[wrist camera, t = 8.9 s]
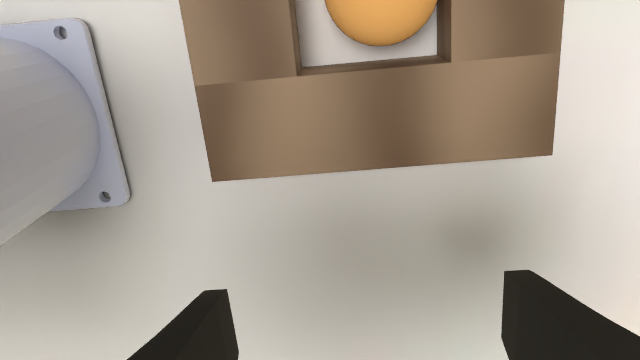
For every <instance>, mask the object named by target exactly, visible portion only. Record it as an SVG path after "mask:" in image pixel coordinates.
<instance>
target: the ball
mask: <svg viewBox="0 0 640 360" xmlns="http://www.w3.org/2000/svg"><path fill="white" fill-rule="evenodd" d="M325 3H326V7H327V9H328V12H329V14H330V16H331V18H332V19H333V21H334V22H335V24H336V25H337V26H338V28H339V29H340V30H341V31H342V32H343V33H345V34H346V35H347V36H348V37H350V38H352V39H353V40H355V41H358V42H360V43H363V44H367V45H371V46H387V45H392V44H396V43H398V42H401V41H403V40H405V39H407V38H409V37H411V36H412V35H413V34H415V33H416V32H417V31H418V30H419V29H420V28H421V27H422V26H423V25H424V24H425V23H426V22H427V20H428V19H429V17H430V16H431V14H432V12H433V10H434V8H435V6H436V3H437V0H325Z"/></svg>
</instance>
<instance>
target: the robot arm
mask: <svg viewBox="0 0 640 360" xmlns="http://www.w3.org/2000/svg"><path fill="white" fill-rule="evenodd" d="M61 26H62V27H63V28H65V30H66V32H67V37H66V38H65V39H64V38H62V37H61V36H60V34H59V29H60V27H61ZM103 192H107V193H108V194H109V195H110V197H111V199H107V198H105V197H104V195H103ZM129 198H130V191H129V187H128V183H127V179H126V175H125V171H124V167H123V163H122V159H121V155H120V151H119V147H118V143H117V139H116V135H115V131H114V127H113V123H112V119H111V115H110V111H109V107H108V103H107V99H106V95H105V91H104V87H103V83H102V79H101V75H100V72H99V68H98V64H97V60H96V56H95V52H94V48H93V44H92V40H91V36H90V32H89V29H88V26H87V25H86V23H85V22H84V21H82V20H80V19H78V18H67V19H57V20H47V21H37V22H28V23H18V24H8V25H0V246H1V245H3V244H4V243H5V242H7V241H8V240H10V239H11V238H12V237H14V236H15V235H16V234H18V233H19V232H21V231H22V230H23V229H25V228H26V227H27V226H29V225H30V224H31V223H33V222H34V221H36V220H37V219H38V218H40V217H41V216H42V215H44V214H45V213H47V212H49V211H62V210H76V209H89V208H102V207H115V206H121V205H123V204H125V203H126V202H127V201H128V200H129ZM501 338H502V341H503V344H504V347H505V350H506V352H507V355H508V358H509V360H640V336H638V335H636V334H634V333H632V332H631V331H629V330H627V329H625V328H623V327H622V326H620V325H618V324H616V323H614V322H613V321H611V320H609V319H607V318H606V317H604V316H602V315H601V314H599V313H597V312H596V311H594V310H592V309H591V308H589V307H588V306H586V305H584V304H583V303H581V302H580V301H578V300H576V299H575V298H573V297H572V296H570V295H569V294H567V293H565V292H564V291H562V290H561V289H559V288H558V287H556V286H555V285H553V284H551V283H550V282H548V281H547V280H545V279H544V278H542V277H540V276H539V275H537V274H536V273H534V272H532V271H530V270H517V271H504V290H503V312H502V333H501ZM238 354H239V350H238V345H237V340H236V334H235V329H234V324H233V318H232V313H231V308H230V303H229V297H228V292H227V289H221V290H206V291H203V292H202V293H201V294H200V295H199V296H198V297H197V298H195V299H194V300H193V301H192V302H191V303H190V304H189V305H188V306H187V307H186V308H185V309H184V310H183V311H182V312H181V313H180V314H178V315H177V316H176V317H175V318H174V319H173V320H172V321H171V322H170V323H169V324H168V325H167V326H166V327H164V328H163V329H162V330H161V331H160V332H159V333H158V334H157V335H156V336H155V337H153V338H152V339H151V340H150V341H149V342H147V343H146V344H145V345H144V346H143V347H142V348H140V349H139V350H138V351H137V352H136V353H134V354H133V355H132V356H131V357H130V358H128V359H127V360H238Z"/></svg>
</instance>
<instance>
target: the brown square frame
mask: <svg viewBox="0 0 640 360" xmlns="http://www.w3.org/2000/svg"><path fill="white" fill-rule="evenodd" d="M564 1H565V0H437V55H433V56H422V57H411V58H400V59H389V60H379V61H368V62H357V63H346V64H335V65H324V66H313V67H302V68H301V60H300V50H299V41H298V31H297V22H296V12H295V3H294V0H179V4H180V9H181V15H182V20H183V25H184V31H185V36H186V42H187V47H188V53H189V58H190V63H191V69H192V74H193V80H194V85H195V91H196V96H197V102H198V107H199V112H200V118H201V123H202V129H203V134H204V140H205V145H206V150H207V156H208V161H209V167H210V172H211V178H212V182H216V181H229V180H241V179H254V178H267V177H280V176H293V175H305V174H318V173H331V172H344V171H356V170H369V169H382V168H395V167H408V166H420V165H433V164H446V163H459V162H472V161H484V160H497V159H510V158H523V157H535V156H548V155H552V153H553V140H554V128H555V115H556V102H557V90H558V77H559V64H560V52H561V39H562V26H563V14H564Z"/></svg>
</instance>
